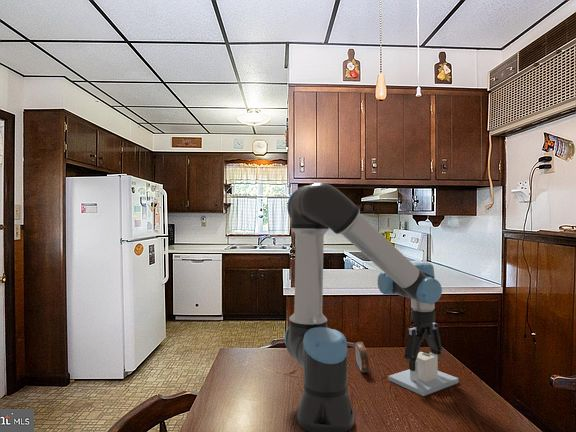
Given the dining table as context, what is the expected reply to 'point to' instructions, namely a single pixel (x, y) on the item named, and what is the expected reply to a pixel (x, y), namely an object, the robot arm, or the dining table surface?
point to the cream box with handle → (426, 366)
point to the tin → (362, 357)
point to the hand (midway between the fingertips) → (424, 376)
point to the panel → (421, 386)
